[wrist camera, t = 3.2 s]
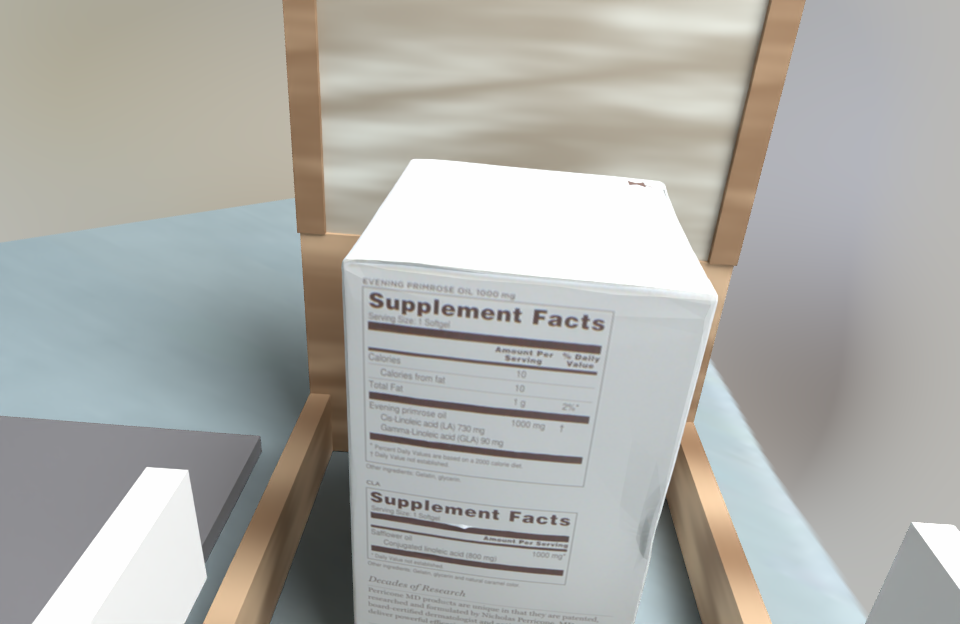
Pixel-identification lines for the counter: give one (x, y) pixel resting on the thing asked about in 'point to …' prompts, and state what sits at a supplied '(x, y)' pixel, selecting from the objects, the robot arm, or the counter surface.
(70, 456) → the mat
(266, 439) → the counter surface
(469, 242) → the supplement box
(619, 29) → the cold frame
